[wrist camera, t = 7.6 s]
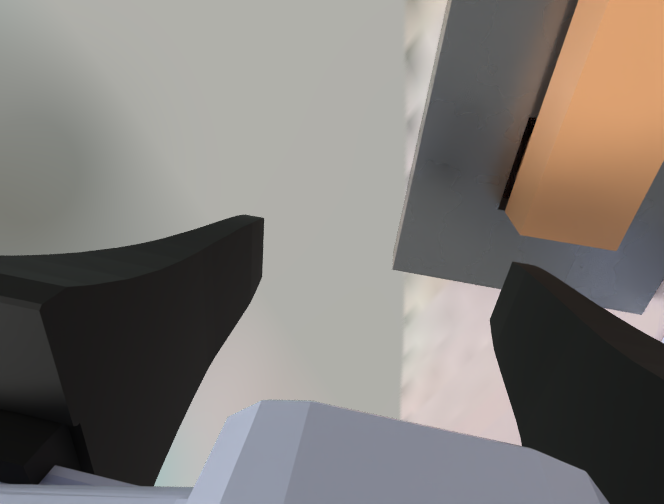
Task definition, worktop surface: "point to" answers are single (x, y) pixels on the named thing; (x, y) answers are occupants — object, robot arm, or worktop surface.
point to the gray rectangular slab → (506, 163)
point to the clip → (596, 128)
